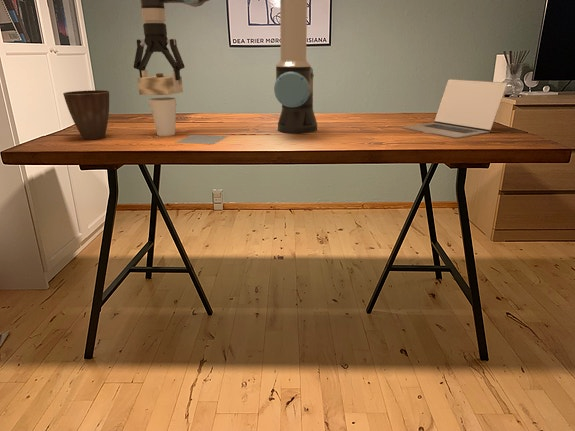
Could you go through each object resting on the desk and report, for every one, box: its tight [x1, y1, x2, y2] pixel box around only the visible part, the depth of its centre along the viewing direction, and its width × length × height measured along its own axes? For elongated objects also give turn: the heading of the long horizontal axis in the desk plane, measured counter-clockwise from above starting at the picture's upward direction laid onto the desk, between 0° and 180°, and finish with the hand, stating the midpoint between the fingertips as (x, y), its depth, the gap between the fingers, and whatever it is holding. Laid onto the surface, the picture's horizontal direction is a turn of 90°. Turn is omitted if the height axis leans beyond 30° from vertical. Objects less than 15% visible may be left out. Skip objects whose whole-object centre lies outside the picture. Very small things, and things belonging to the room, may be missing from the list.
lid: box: [137, 72, 183, 96], centre depth 161 cm, size 11×11×7 cm
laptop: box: [401, 78, 508, 140], centre depth 169 cm, size 26×24×18 cm
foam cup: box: [148, 96, 177, 137], centre depth 166 cm, size 10×9×13 cm
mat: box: [174, 134, 229, 145], centre depth 159 cm, size 14×14×1 cm
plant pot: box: [63, 89, 110, 140], centre depth 162 cm, size 15×15×16 cm
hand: (161, 89), depth 162 cm, fingers closed on lid, 11 cm apart
